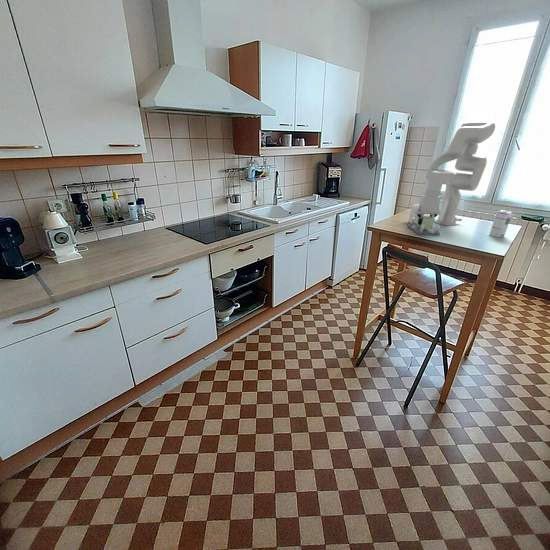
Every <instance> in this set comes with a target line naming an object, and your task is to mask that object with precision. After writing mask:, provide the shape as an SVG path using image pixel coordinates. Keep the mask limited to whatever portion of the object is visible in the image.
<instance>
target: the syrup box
mask: <svg viewBox="0 0 550 550" xmlns="http://www.w3.org/2000/svg"><path fill="white" fill-rule="evenodd" d="M512 215H513V211H510V210H504V209H501V210H497V211H496V214H495V216H494V219H493V222H492V224H491V225H492V226H491V228H490V232H489V236H492V237H496V238H503V237H504V236H505V235H506V232H507V229H508V226H509V224H510V222H511V221H510V220H511V219H512Z"/></svg>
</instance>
